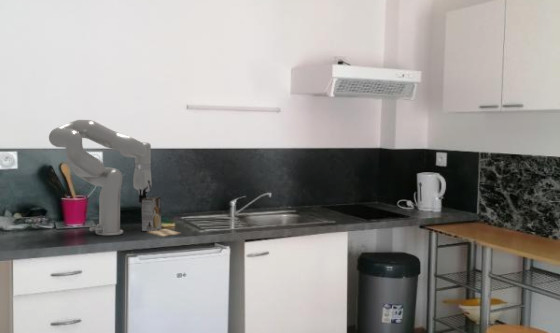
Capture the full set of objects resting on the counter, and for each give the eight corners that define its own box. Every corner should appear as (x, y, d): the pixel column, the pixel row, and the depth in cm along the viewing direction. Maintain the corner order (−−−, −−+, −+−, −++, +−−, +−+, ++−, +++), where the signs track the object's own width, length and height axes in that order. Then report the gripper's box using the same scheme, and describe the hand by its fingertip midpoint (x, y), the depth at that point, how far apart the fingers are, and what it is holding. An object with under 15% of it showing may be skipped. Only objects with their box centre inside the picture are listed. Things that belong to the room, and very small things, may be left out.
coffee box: (149, 228, 271) (149, 196, 270) (161, 228, 269) (161, 196, 269) (141, 230, 262) (141, 198, 261) (153, 231, 260) (153, 198, 260)
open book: (162, 236, 251) (162, 235, 251) (146, 232, 259) (146, 231, 259) (181, 233, 259) (181, 232, 259) (165, 229, 268) (165, 228, 267)
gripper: (128, 165, 271) (127, 201, 273) (145, 168, 261) (144, 204, 263) (140, 165, 277) (140, 200, 278) (157, 167, 267) (157, 203, 268)
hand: (142, 202), depth 270 cm, fingers closed
